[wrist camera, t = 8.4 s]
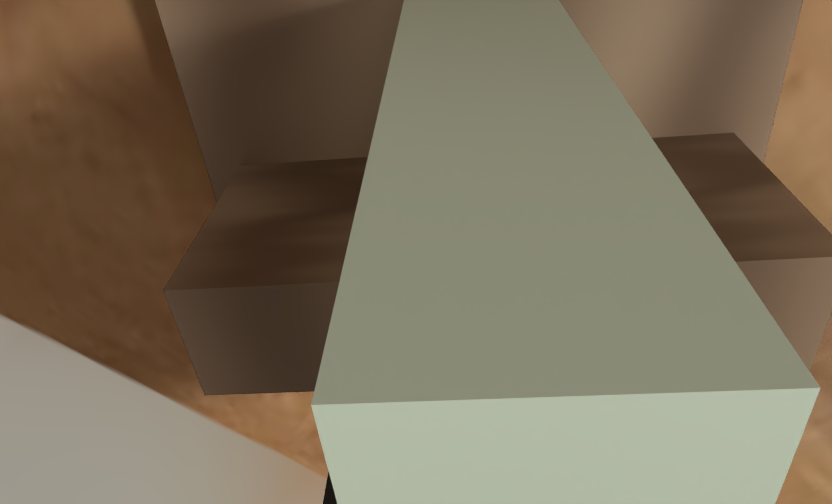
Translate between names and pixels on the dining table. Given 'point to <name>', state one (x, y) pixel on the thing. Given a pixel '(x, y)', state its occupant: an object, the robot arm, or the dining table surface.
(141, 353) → the dining table surface
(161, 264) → the dining table surface
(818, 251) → the slot plate
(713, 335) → the upright sage green panel
